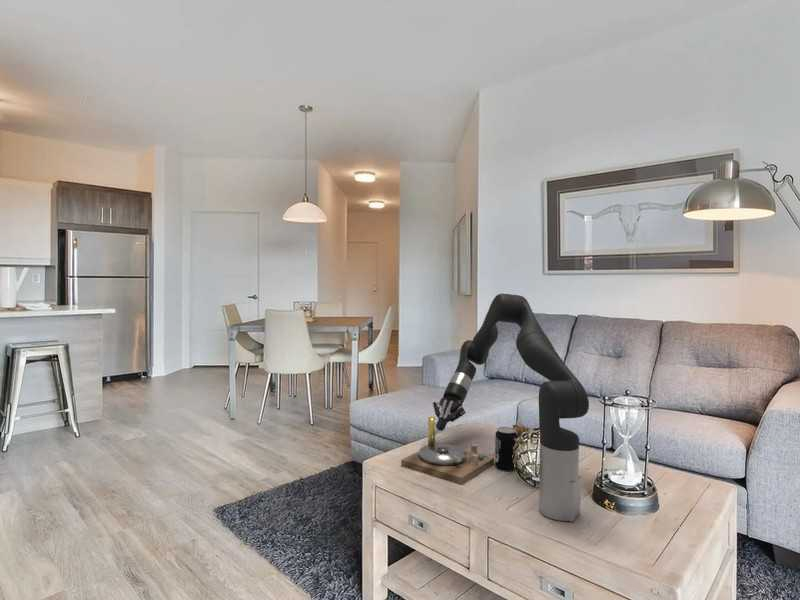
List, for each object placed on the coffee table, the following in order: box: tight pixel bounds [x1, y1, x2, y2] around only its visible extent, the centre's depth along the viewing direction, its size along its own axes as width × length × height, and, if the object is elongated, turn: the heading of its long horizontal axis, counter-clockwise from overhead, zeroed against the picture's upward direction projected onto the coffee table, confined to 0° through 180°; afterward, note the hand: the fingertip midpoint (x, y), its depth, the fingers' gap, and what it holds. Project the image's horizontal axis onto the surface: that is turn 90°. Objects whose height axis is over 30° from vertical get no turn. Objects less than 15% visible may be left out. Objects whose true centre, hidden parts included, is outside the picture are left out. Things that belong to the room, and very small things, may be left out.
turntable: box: [400, 442, 495, 486], centre depth 149 cm, size 22×20×5 cm
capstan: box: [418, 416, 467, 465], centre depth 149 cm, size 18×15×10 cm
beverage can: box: [494, 426, 518, 472], centre depth 148 cm, size 7×7×12 cm
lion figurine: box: [512, 423, 530, 440], centre depth 163 cm, size 15×5×9 cm, turn 71°
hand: (439, 429), depth 160 cm, fingers closed
